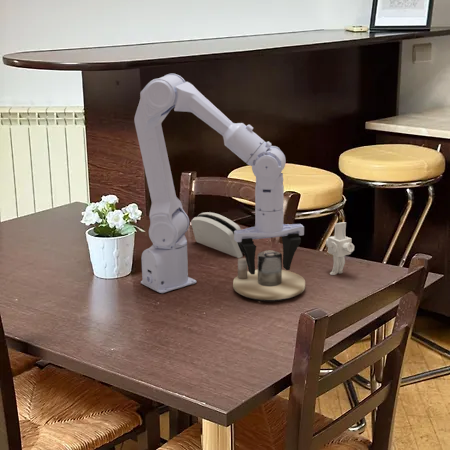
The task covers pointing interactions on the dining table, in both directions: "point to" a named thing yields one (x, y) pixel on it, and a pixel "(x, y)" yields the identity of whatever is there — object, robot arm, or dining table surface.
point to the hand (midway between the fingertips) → (269, 270)
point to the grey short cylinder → (269, 268)
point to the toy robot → (339, 247)
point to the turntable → (250, 287)
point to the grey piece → (217, 233)
